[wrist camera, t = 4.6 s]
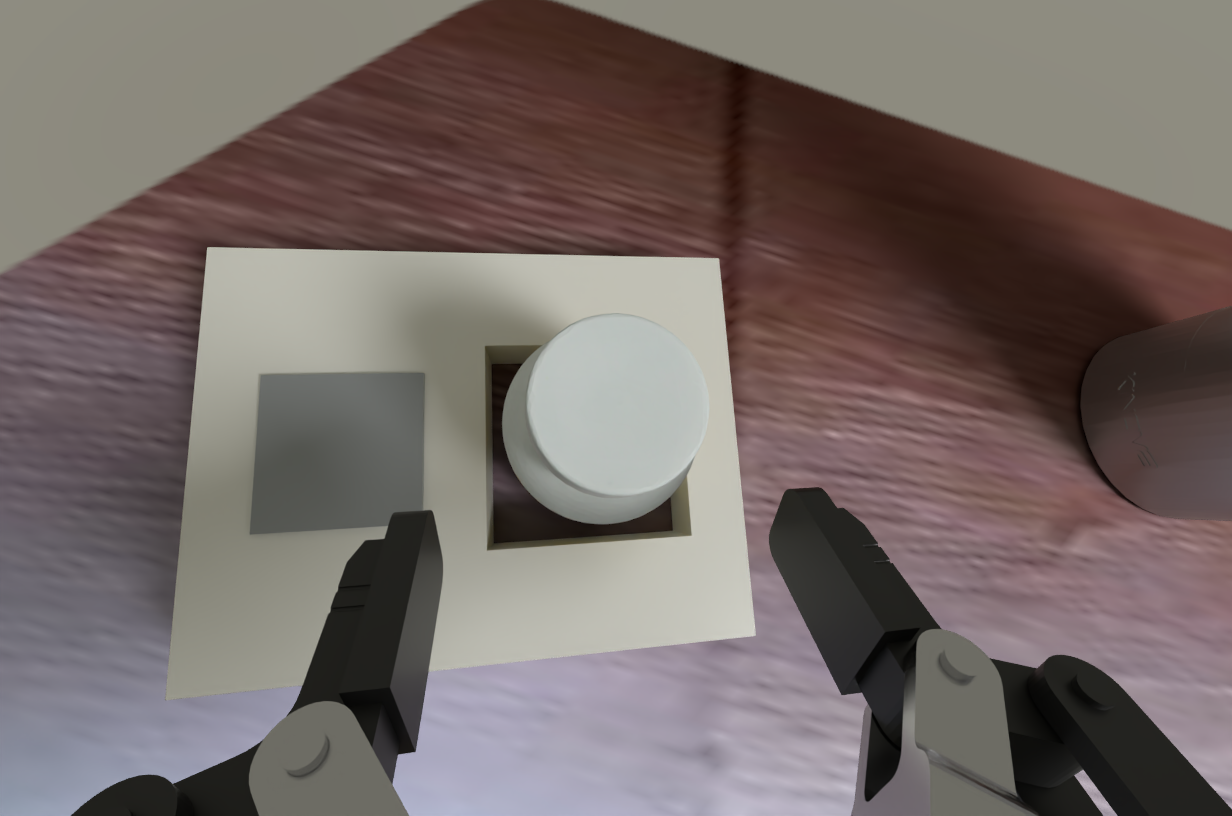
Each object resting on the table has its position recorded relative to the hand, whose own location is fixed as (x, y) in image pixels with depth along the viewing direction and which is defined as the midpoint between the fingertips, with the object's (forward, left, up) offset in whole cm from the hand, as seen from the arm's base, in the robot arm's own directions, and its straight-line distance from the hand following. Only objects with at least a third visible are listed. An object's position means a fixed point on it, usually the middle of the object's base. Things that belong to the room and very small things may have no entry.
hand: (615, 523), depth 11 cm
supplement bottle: (0, -3, -8) cm, 9 cm away
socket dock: (+3, -3, -8) cm, 9 cm away
